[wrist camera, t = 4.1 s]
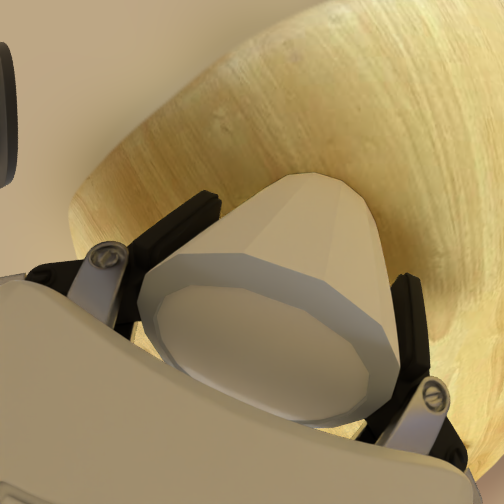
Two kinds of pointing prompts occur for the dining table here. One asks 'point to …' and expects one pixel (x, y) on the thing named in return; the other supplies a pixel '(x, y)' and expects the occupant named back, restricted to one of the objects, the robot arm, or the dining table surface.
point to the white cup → (282, 305)
